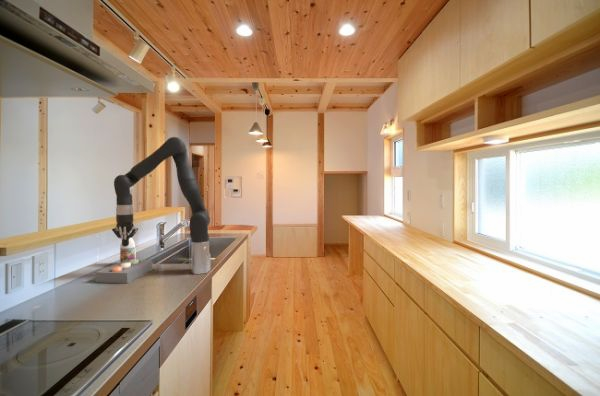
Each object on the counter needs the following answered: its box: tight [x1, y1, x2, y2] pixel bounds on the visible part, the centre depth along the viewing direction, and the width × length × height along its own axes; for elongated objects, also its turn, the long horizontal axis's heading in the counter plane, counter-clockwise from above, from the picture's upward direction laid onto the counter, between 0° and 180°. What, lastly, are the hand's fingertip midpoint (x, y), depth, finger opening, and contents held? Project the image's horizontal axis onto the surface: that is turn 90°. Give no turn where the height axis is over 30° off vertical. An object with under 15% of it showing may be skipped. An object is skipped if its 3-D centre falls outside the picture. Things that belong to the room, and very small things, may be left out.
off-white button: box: [121, 262, 131, 268], centre depth 142 cm, size 4×4×4 cm
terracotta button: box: [112, 266, 122, 272], centre depth 136 cm, size 4×4×4 cm
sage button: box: [129, 258, 139, 264], centre depth 149 cm, size 4×4×4 cm
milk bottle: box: [119, 231, 137, 262], centre depth 160 cm, size 8×8×20 cm
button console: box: [94, 259, 154, 284], centre depth 142 cm, size 16×21×5 cm
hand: (125, 246), depth 141 cm, fingers closed
